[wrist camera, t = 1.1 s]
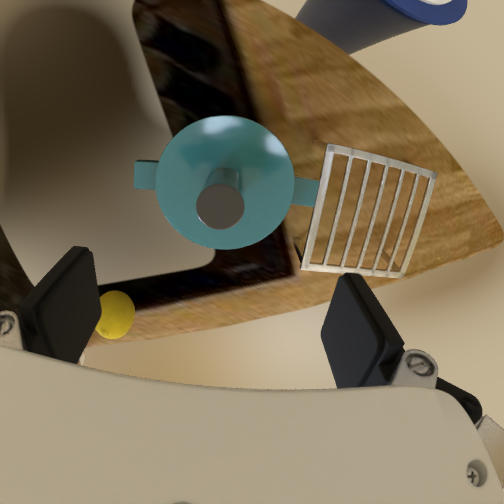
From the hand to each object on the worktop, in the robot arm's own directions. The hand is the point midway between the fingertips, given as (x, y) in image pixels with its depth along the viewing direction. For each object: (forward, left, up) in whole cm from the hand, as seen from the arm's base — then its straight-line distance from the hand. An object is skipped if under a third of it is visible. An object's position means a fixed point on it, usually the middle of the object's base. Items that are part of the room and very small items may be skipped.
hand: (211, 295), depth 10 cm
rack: (+2, +15, -23) cm, 27 cm away
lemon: (+19, -13, -23) cm, 32 cm away
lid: (0, 0, -14) cm, 14 cm away
